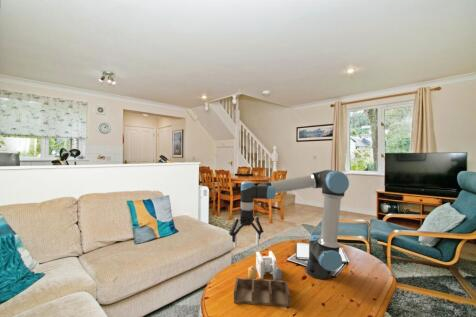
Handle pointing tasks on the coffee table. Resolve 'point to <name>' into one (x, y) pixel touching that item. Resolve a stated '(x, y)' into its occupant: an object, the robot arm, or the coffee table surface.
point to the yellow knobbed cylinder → (252, 272)
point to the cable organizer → (265, 263)
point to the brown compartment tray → (261, 292)
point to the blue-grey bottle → (277, 274)
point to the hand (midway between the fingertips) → (246, 246)
